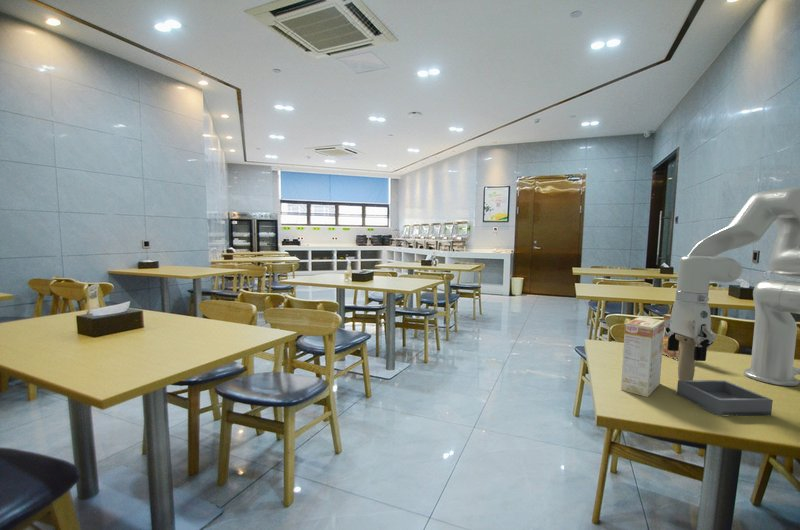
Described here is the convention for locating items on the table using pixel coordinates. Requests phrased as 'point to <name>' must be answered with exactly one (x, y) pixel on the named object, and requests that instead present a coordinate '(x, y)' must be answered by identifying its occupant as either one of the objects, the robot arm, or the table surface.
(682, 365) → the handle
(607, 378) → the table surface
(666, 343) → the candy box
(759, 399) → the tray
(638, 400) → the table surface
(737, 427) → the table surface
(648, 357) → the coffeecake box
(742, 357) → the table surface
